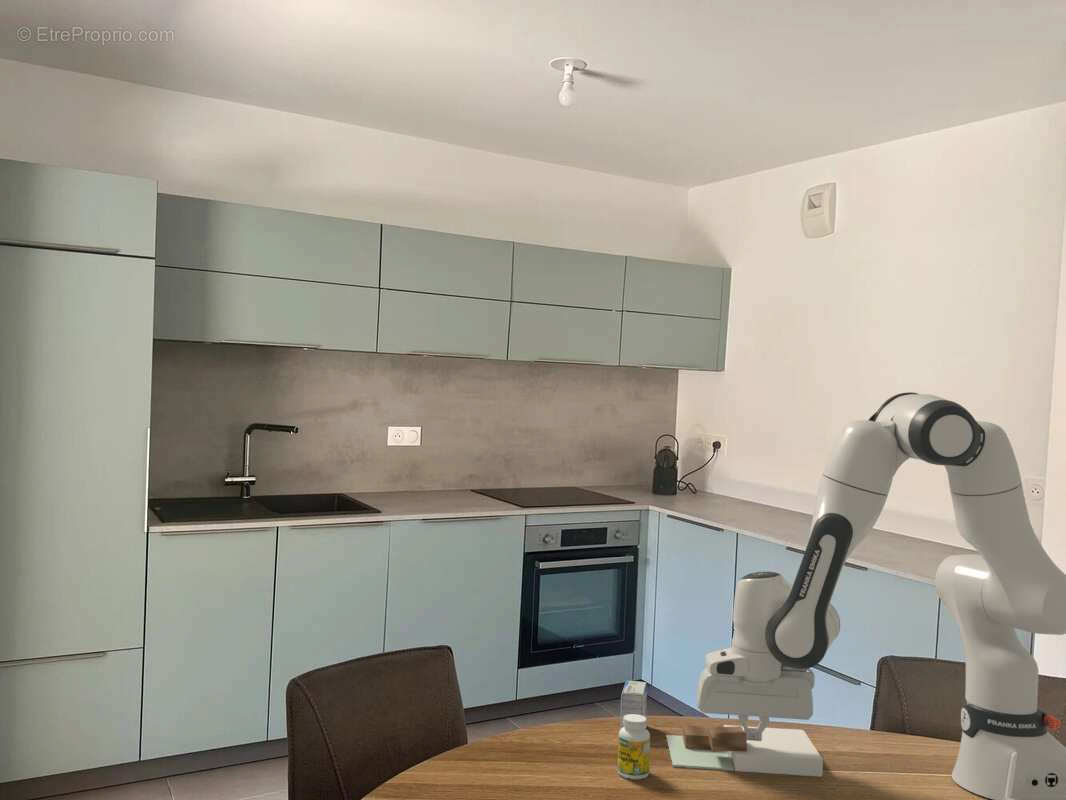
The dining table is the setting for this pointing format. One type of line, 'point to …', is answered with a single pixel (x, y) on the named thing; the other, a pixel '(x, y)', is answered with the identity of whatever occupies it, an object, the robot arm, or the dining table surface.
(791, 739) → the white flat block
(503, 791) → the dining table surface
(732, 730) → the near tile
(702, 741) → the far tile
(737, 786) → the dining table surface
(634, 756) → the supplement bottle
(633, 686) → the medicine box
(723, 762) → the mat
